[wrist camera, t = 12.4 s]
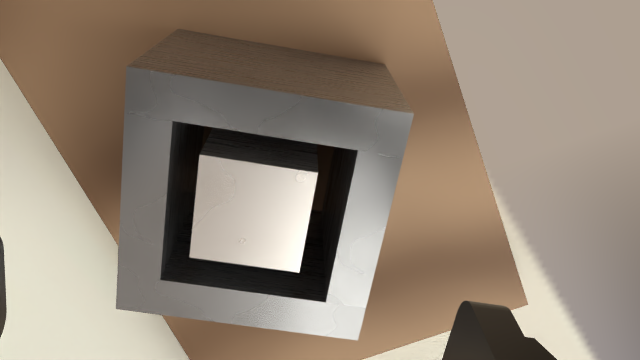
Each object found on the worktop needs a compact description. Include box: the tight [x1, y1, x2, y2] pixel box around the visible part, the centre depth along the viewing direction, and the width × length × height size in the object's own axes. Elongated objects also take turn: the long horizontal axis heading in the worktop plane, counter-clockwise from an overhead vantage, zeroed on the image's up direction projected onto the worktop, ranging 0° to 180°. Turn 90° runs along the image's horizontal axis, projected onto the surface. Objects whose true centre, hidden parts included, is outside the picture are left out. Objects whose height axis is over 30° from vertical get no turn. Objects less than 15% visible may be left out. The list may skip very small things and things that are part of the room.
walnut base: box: [0, 0, 528, 360], centre depth 18 cm, size 18×12×2 cm, turn 22°
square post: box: [190, 127, 318, 273], centre depth 15 cm, size 3×3×5 cm
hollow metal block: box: [116, 29, 414, 340], centre depth 15 cm, size 6×6×5 cm
